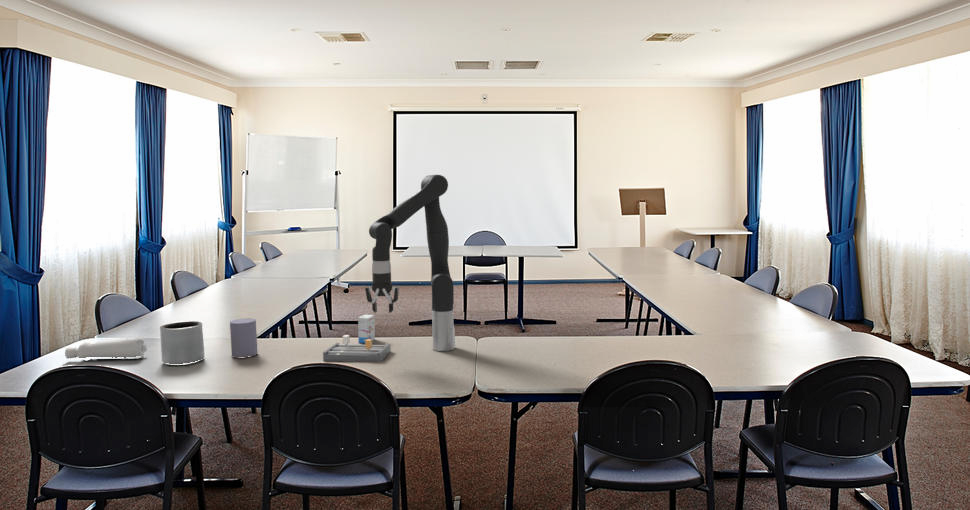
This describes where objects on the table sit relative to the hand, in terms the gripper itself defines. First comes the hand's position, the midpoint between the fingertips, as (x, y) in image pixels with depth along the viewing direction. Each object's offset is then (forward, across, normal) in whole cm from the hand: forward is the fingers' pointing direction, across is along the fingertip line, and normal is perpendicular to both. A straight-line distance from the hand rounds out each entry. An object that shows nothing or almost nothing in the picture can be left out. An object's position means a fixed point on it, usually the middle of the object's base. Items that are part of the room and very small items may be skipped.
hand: (382, 312), depth 263 cm
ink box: (+20, +16, -30) cm, 39 cm away
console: (+20, +12, -4) cm, 23 cm away
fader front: (+17, +6, 0) cm, 18 cm away
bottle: (+20, +117, +9) cm, 119 cm away
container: (+20, +62, -1) cm, 65 cm away
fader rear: (+17, +19, -7) cm, 26 cm away
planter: (+20, +82, +10) cm, 85 cm away
